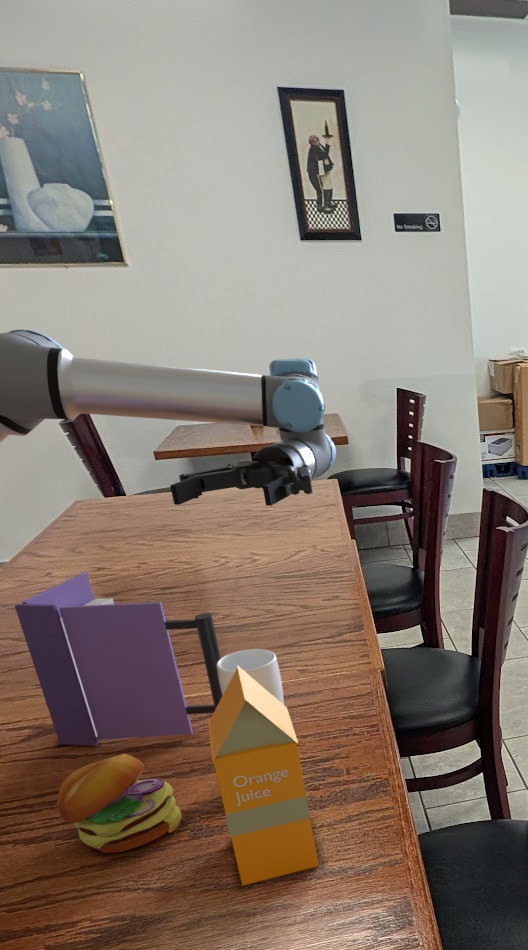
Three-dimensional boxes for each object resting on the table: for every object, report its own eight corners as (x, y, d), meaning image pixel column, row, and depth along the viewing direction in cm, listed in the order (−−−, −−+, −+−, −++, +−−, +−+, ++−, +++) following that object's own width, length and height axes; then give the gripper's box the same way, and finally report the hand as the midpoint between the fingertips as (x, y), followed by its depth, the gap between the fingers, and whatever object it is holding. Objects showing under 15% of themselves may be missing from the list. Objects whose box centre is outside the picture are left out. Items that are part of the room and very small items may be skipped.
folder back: (59, 744, 109) (14, 605, 100) (119, 700, 120) (82, 572, 112) (95, 746, 108) (52, 606, 99) (151, 701, 120) (117, 572, 111)
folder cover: (102, 735, 110) (63, 604, 102) (238, 727, 111) (210, 597, 103) (96, 742, 108) (56, 610, 100) (234, 734, 109) (205, 603, 101)
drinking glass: (300, 753, 105) (280, 646, 99) (293, 781, 99) (272, 668, 93) (245, 759, 104) (221, 650, 98) (235, 787, 98) (209, 673, 92)
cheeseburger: (169, 855, 86) (121, 778, 82) (74, 880, 87) (21, 806, 82) (198, 800, 95) (157, 729, 91) (112, 824, 96) (67, 754, 91)
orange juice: (240, 886, 82) (199, 707, 73) (234, 838, 89) (195, 671, 80) (320, 865, 84) (289, 691, 76) (307, 821, 92) (278, 657, 83)
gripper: (359, 490, 134) (310, 523, 115) (215, 489, 137) (143, 521, 118) (353, 443, 131) (301, 468, 112) (205, 443, 133) (130, 467, 114)
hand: (220, 495), depth 115 cm, fingers open, 13 cm apart
